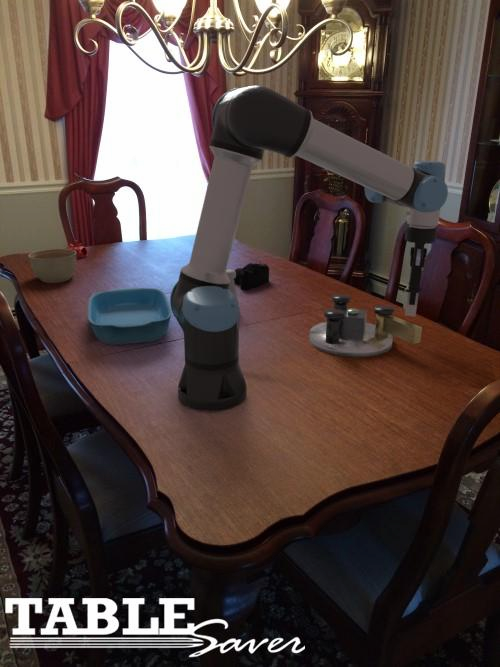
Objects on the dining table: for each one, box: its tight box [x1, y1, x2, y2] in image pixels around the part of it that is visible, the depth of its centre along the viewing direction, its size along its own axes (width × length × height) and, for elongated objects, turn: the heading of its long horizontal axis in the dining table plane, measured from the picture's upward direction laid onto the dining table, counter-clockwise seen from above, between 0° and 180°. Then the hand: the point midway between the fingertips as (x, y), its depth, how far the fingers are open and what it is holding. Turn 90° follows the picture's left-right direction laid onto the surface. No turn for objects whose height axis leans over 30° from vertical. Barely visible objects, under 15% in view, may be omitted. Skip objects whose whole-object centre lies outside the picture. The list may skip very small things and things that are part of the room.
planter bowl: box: [28, 248, 77, 284], centre depth 198 cm, size 16×16×11 cm
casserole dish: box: [87, 287, 173, 346], centre depth 158 cm, size 37×22×7 cm, turn 14°
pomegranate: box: [64, 239, 89, 260], centre depth 227 cm, size 10×10×9 cm
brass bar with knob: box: [373, 304, 423, 345], centre depth 142 cm, size 15×5×8 cm, turn 32°
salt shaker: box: [226, 268, 238, 298], centre depth 170 cm, size 6×6×13 cm
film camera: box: [234, 262, 270, 291], centre depth 197 cm, size 15×10×9 cm, turn 141°
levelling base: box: [309, 293, 394, 358], centre depth 148 cm, size 22×22×10 cm
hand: (410, 315), depth 147 cm, fingers closed
